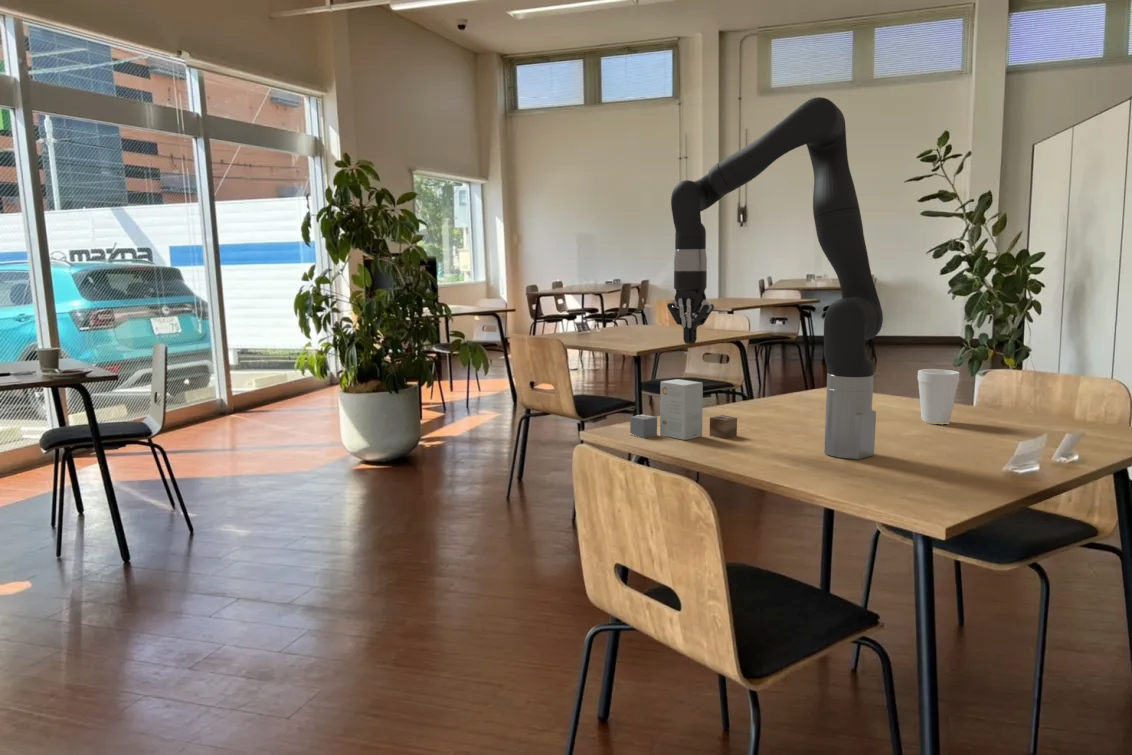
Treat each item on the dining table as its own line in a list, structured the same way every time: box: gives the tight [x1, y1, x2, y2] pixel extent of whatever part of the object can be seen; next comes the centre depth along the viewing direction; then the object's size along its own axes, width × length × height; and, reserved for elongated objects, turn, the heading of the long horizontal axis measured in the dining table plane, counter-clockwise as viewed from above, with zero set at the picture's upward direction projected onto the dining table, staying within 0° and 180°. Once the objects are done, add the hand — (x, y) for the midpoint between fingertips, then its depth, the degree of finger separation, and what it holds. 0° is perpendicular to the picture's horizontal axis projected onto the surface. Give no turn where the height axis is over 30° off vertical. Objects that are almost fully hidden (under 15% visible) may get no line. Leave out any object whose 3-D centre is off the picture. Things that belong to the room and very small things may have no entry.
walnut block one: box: [709, 414, 738, 440], centre depth 191 cm, size 4×4×5 cm
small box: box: [659, 378, 704, 441], centre depth 190 cm, size 8×6×13 cm
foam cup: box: [917, 368, 960, 423], centre depth 203 cm, size 10×9×13 cm
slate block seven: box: [629, 414, 658, 439], centre depth 192 cm, size 4×4×5 cm
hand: (689, 343), depth 189 cm, fingers closed
